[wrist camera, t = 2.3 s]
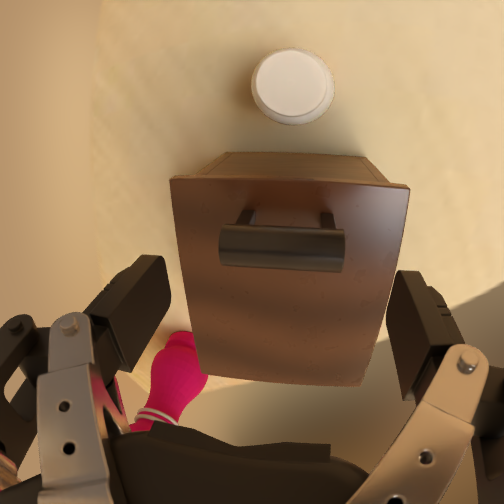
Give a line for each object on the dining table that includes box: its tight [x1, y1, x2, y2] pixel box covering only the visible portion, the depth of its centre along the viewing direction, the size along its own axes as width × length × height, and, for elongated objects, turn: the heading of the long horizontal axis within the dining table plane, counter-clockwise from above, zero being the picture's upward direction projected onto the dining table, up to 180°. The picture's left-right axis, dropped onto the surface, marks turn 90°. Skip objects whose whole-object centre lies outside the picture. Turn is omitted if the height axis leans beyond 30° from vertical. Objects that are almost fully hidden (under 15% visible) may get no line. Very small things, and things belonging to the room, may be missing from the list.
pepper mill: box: [129, 331, 208, 432], centre depth 31 cm, size 7×7×20 cm
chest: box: [195, 152, 390, 183], centre depth 24 cm, size 15×13×12 cm
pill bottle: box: [251, 47, 335, 125], centre depth 19 cm, size 5×5×10 cm
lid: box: [169, 175, 410, 387], centre depth 17 cm, size 15×13×5 cm
